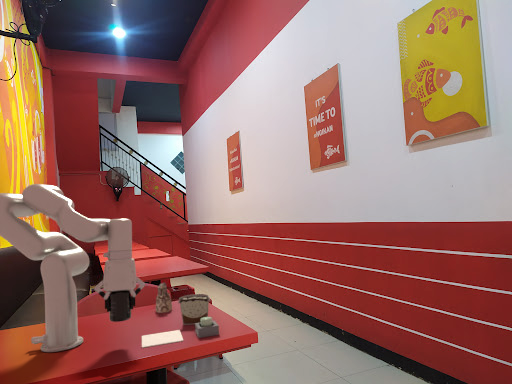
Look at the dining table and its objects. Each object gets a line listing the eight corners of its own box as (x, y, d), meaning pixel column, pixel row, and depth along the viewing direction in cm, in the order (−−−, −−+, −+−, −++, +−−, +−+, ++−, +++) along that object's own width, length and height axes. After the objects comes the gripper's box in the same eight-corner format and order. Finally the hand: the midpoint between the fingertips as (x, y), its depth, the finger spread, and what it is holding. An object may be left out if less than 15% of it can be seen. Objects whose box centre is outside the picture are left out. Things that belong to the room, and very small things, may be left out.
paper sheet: (141, 347, 114) (141, 347, 114) (141, 336, 125) (141, 335, 125) (183, 341, 118) (183, 340, 118) (179, 330, 129) (179, 329, 129)
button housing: (198, 338, 120) (198, 328, 120) (195, 331, 127) (195, 323, 127) (219, 334, 122) (218, 325, 122) (215, 328, 129) (214, 320, 129)
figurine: (152, 312, 158) (151, 285, 159) (160, 308, 165) (159, 281, 166) (167, 312, 156) (166, 284, 157) (174, 308, 163) (173, 281, 164)
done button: (201, 329, 122) (201, 320, 122) (200, 326, 126) (199, 317, 126) (213, 328, 123) (213, 319, 123) (211, 324, 127) (210, 316, 127)
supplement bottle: (122, 315, 124) (122, 280, 125) (135, 318, 120) (135, 281, 121) (104, 320, 119) (104, 283, 119) (117, 323, 115) (117, 285, 116)
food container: (214, 318, 142) (213, 293, 142) (211, 323, 136) (209, 296, 136) (184, 320, 143) (182, 294, 144) (179, 324, 137) (177, 298, 137)
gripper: (90, 258, 115) (90, 315, 113) (147, 255, 120) (147, 309, 119) (93, 256, 122) (93, 309, 121) (147, 253, 127) (147, 304, 126)
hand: (120, 309), depth 120 cm, fingers closed on supplement bottle, 6 cm apart
